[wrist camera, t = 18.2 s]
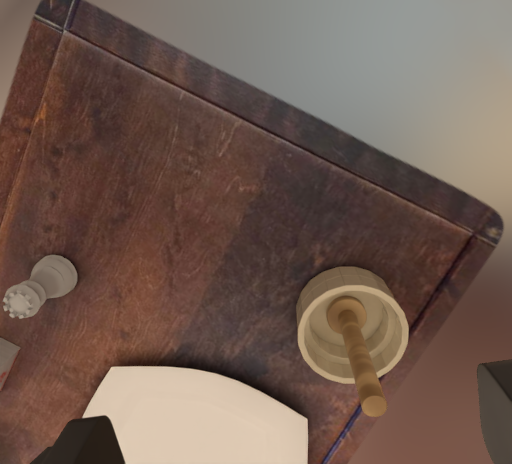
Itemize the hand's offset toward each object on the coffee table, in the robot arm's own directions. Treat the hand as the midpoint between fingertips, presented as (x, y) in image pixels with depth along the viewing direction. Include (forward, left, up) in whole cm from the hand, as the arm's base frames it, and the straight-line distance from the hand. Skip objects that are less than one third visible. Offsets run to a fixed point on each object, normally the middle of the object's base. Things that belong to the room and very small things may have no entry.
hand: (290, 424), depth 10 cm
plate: (+34, +11, -36) cm, 50 cm away
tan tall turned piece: (+8, +14, -35) cm, 38 cm away
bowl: (+8, +14, -36) cm, 39 cm away
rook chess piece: (+22, -13, -36) cm, 44 cm away
